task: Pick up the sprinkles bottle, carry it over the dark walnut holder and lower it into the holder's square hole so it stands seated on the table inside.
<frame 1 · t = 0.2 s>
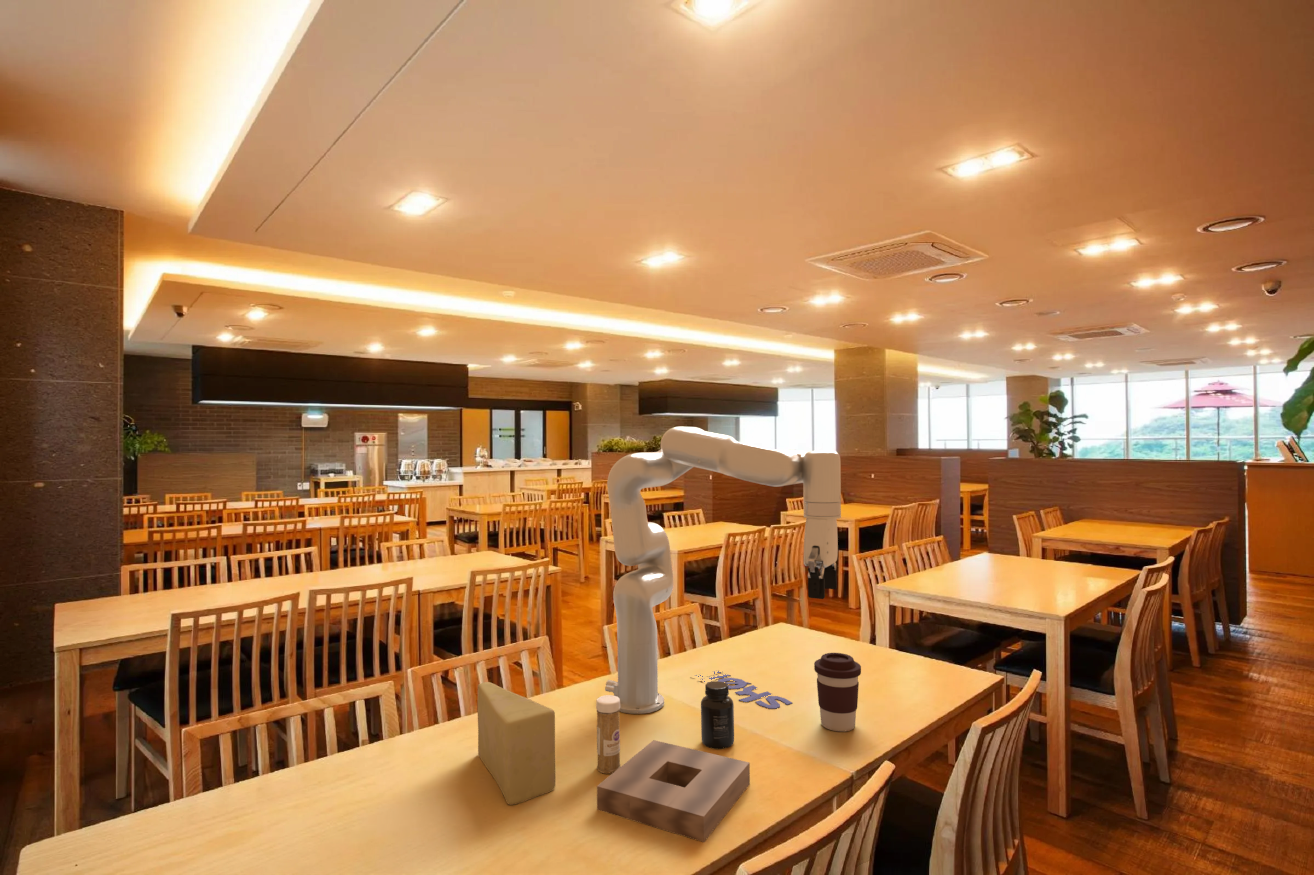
hand: (822, 593, 140), 31 cm above the table, tool pointing down, fingers open, 9 cm apart
sprinkles bottle: (608, 769, 129), on the table
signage: (739, 691, 170), on the table
walnut holder: (675, 796, 119), on the table
supplement bottle: (717, 743, 140), on the table
cheese: (505, 776, 127), on the table
coffee cup: (837, 726, 148), on the table
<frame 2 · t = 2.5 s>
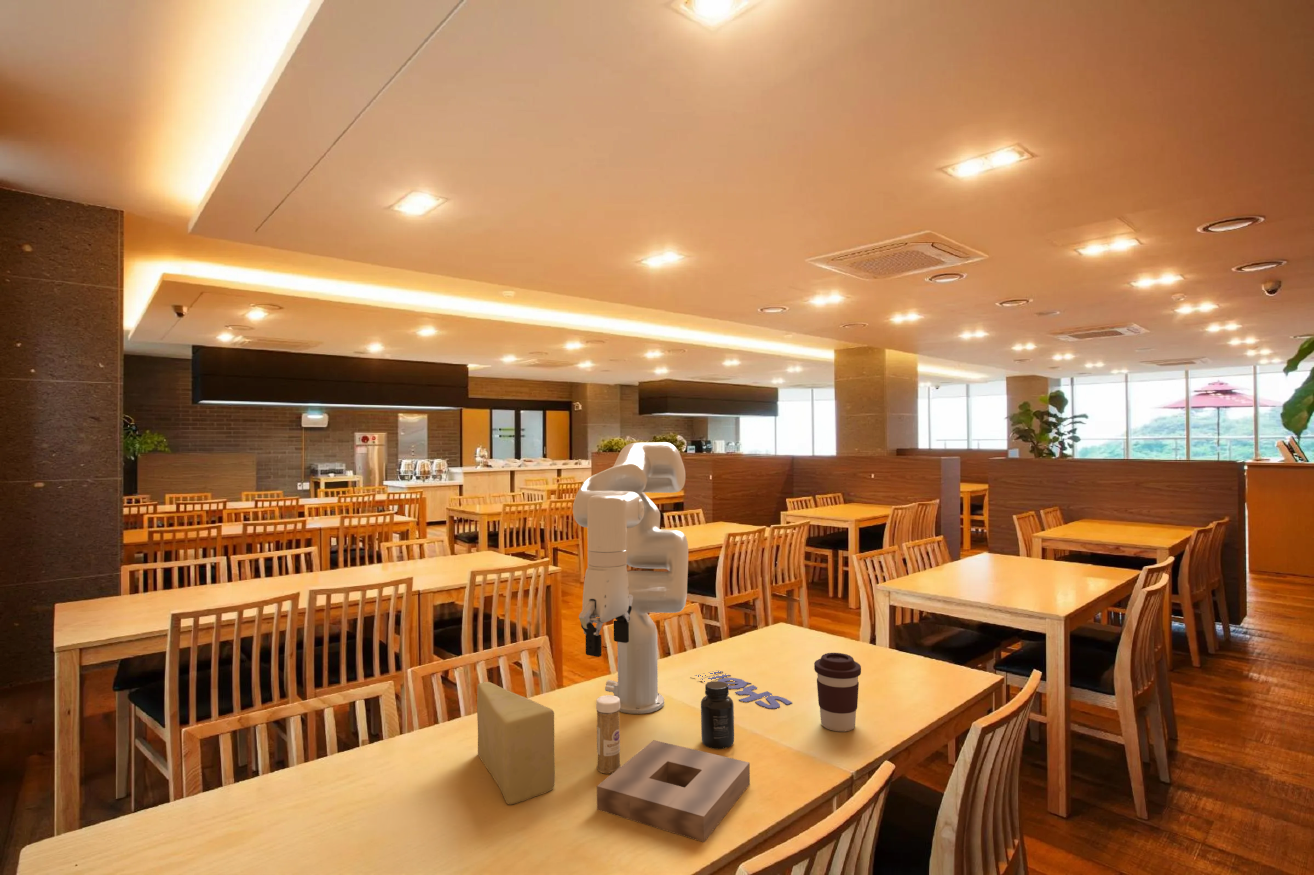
hand: (607, 648, 129), 23 cm above the table, tool pointing down, fingers open, 9 cm apart
nothing on the table moved.
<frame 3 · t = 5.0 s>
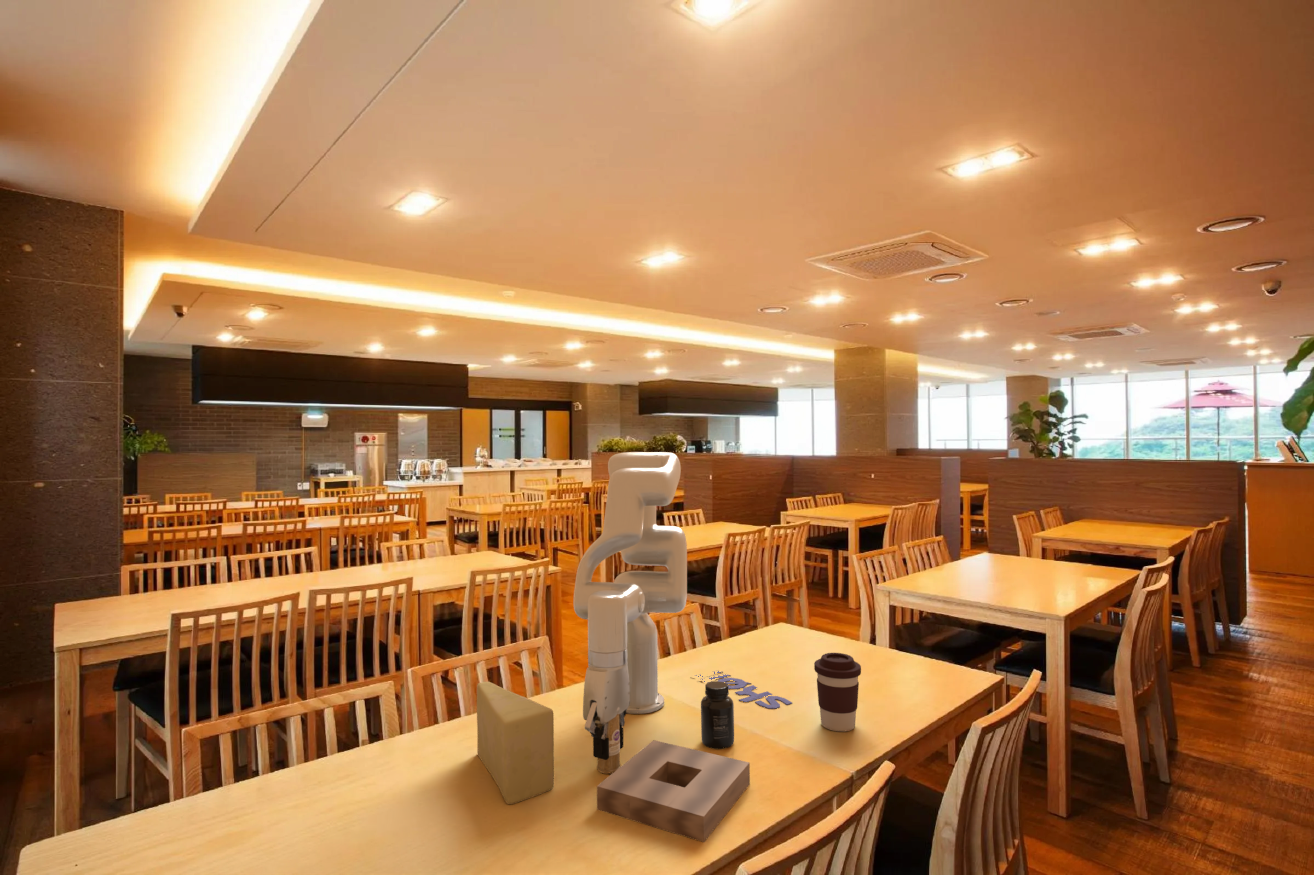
hand: (608, 751, 129), 3 cm above the table, tool pointing down, fingers closed on sprinkles bottle, 4 cm apart
sprinkles bottle: (608, 769, 129), on the table, touching gripper
everything else where it was.
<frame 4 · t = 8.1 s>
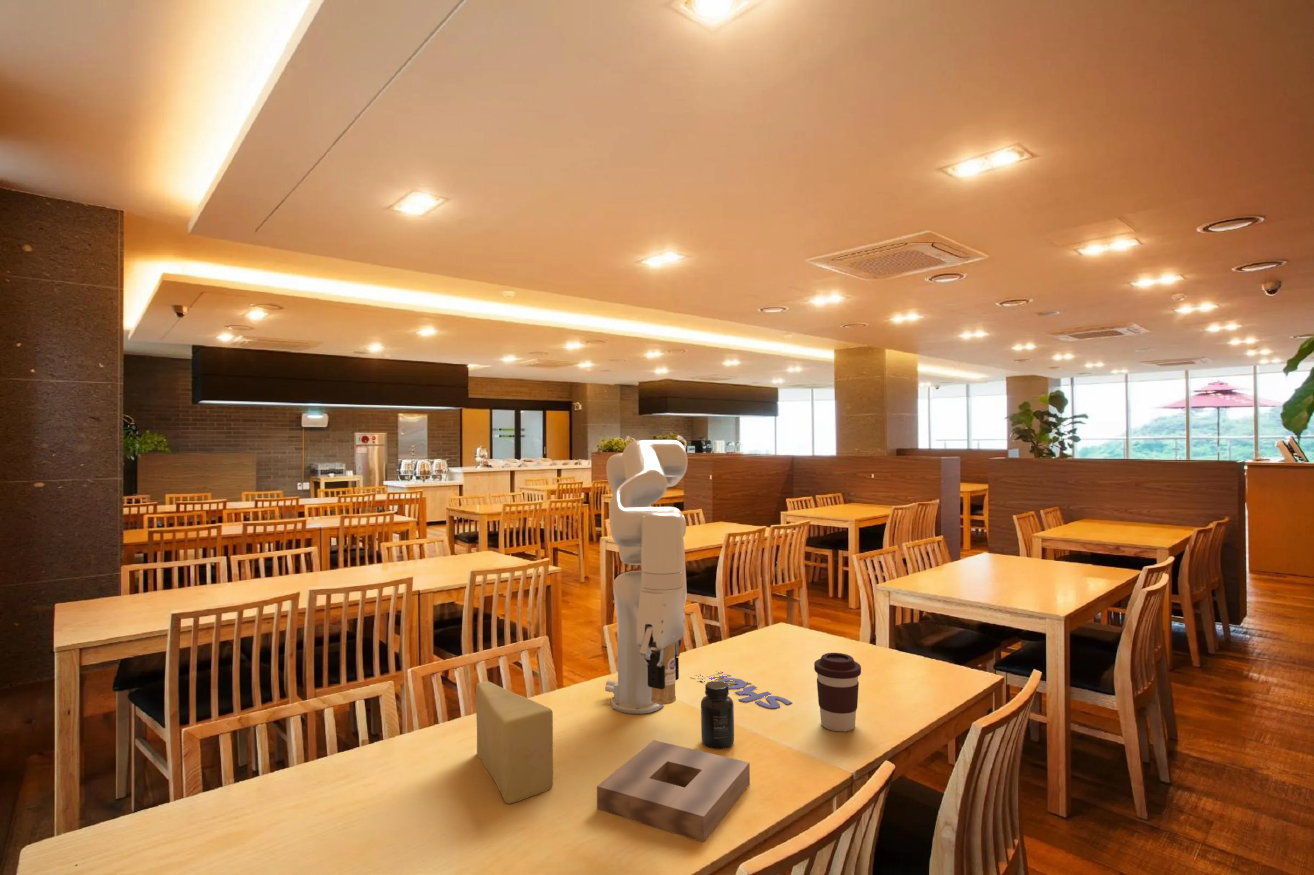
hand: (663, 682, 121), 20 cm above the table, tool pointing down, fingers closed on sprinkles bottle, 4 cm apart
sprinkles bottle: (663, 701, 121), point 16 cm above the table, touching gripper
everything else where it was.
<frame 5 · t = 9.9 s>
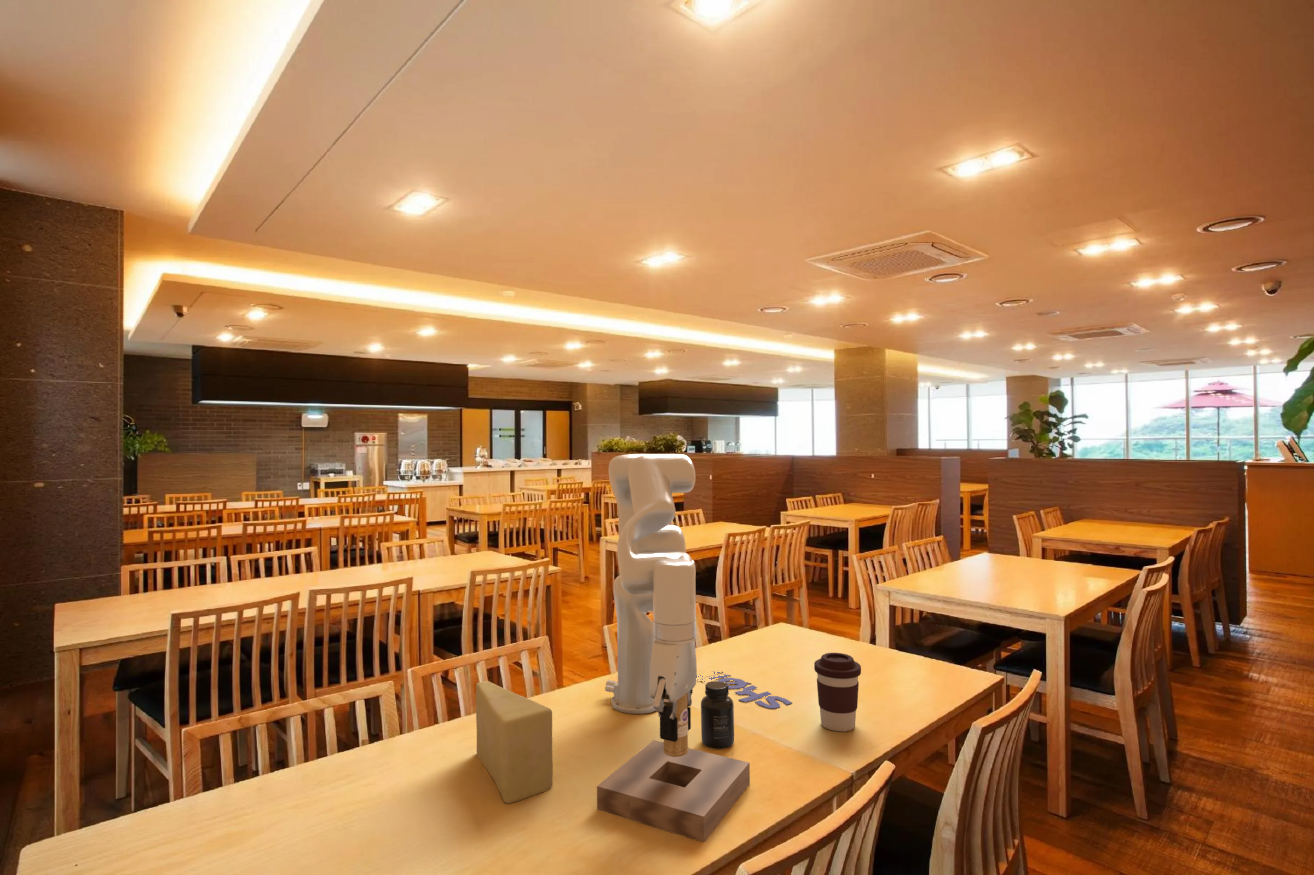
hand: (675, 733, 119), 11 cm above the table, tool pointing down, fingers closed on sprinkles bottle, 4 cm apart
sprinkles bottle: (675, 753, 119), point 8 cm above the table, touching gripper
everything else where it was.
when the fingers open (5 cm above the table, at t = 11.4 s): sprinkles bottle drops 2 cm, resting in walnut holder.
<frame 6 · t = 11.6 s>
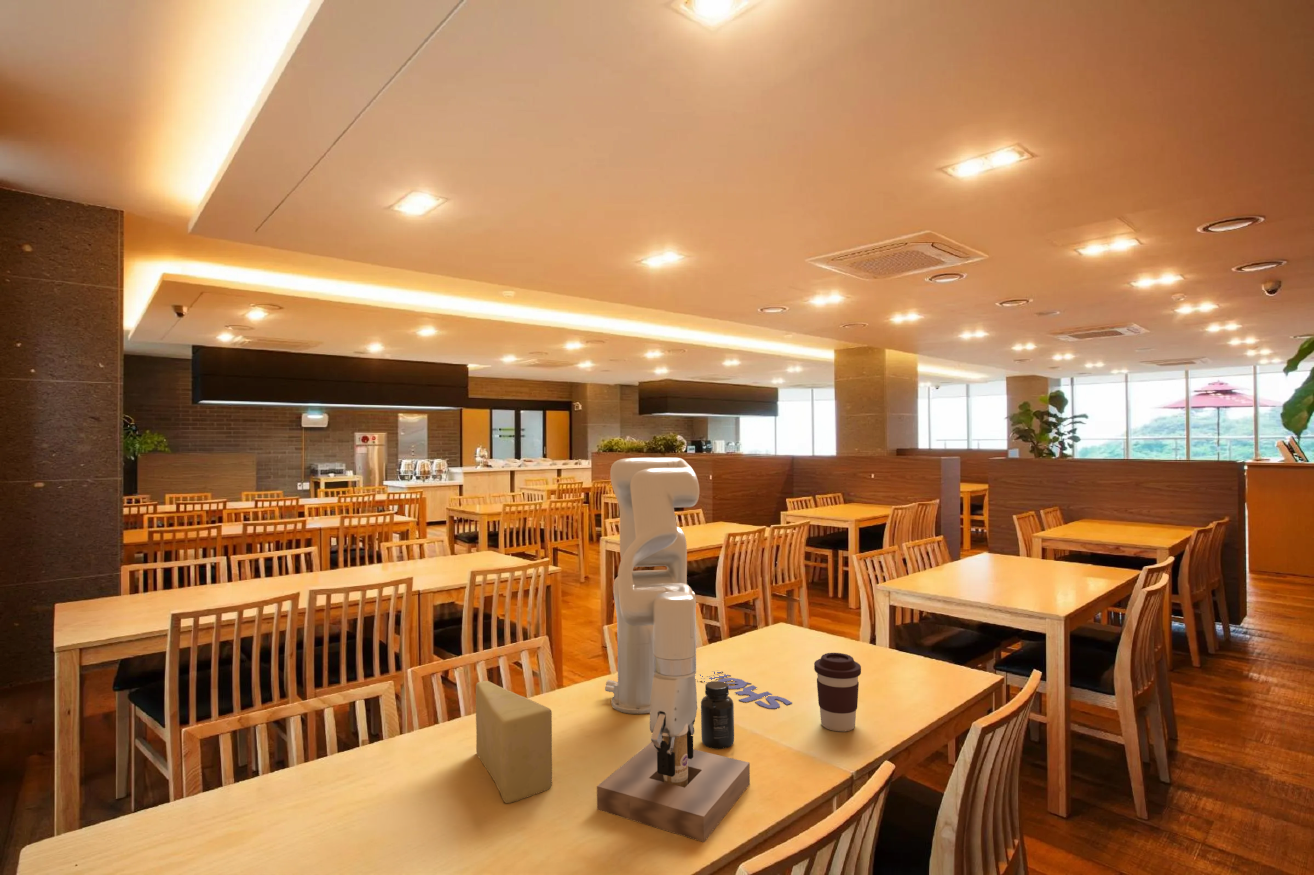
hand: (675, 764, 119), 6 cm above the table, tool pointing down, fingers open, 6 cm apart
sprinkles bottle: (675, 796, 119), resting in walnut holder
everything else where it was.
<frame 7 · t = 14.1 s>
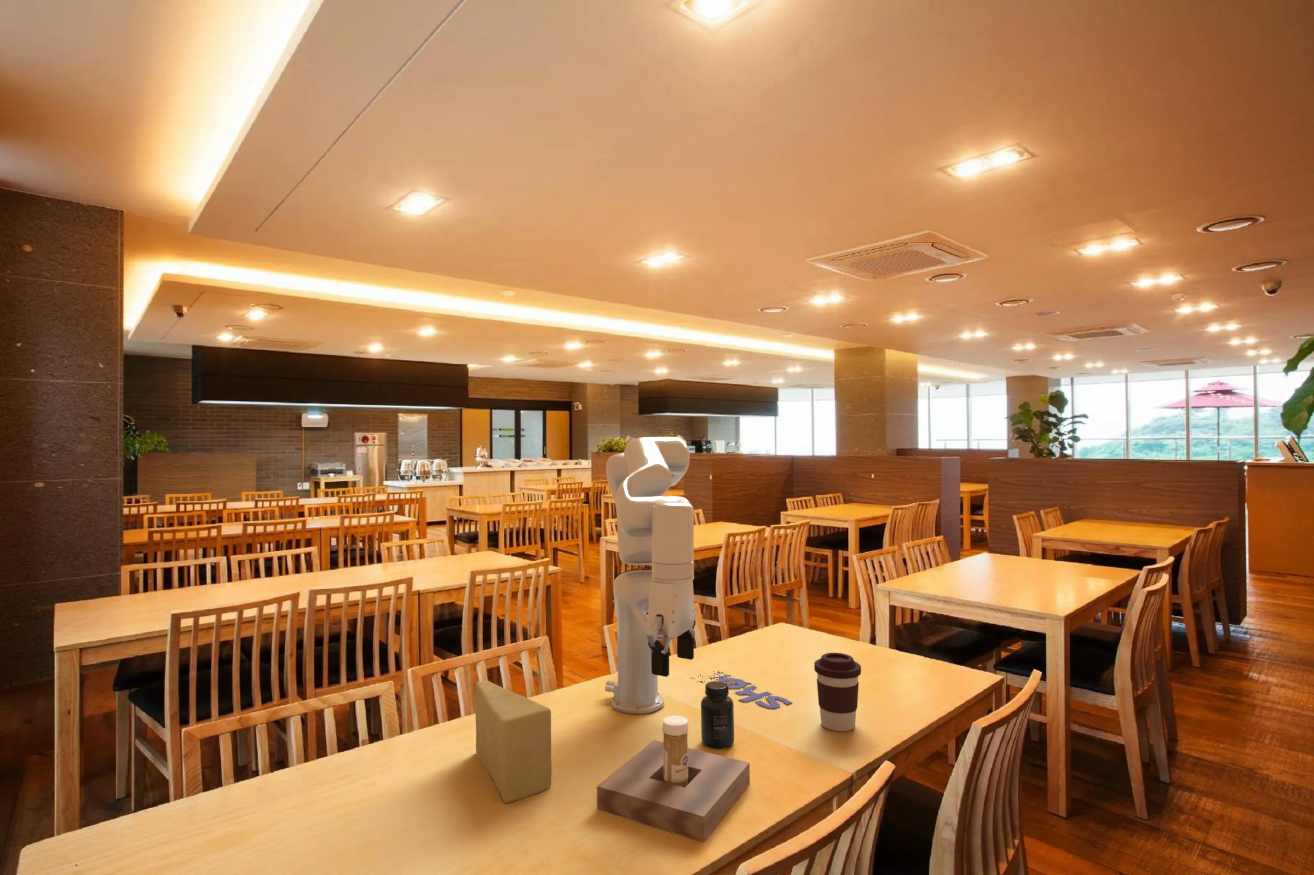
hand: (673, 666, 121), 22 cm above the table, tool pointing down, fingers open, 9 cm apart
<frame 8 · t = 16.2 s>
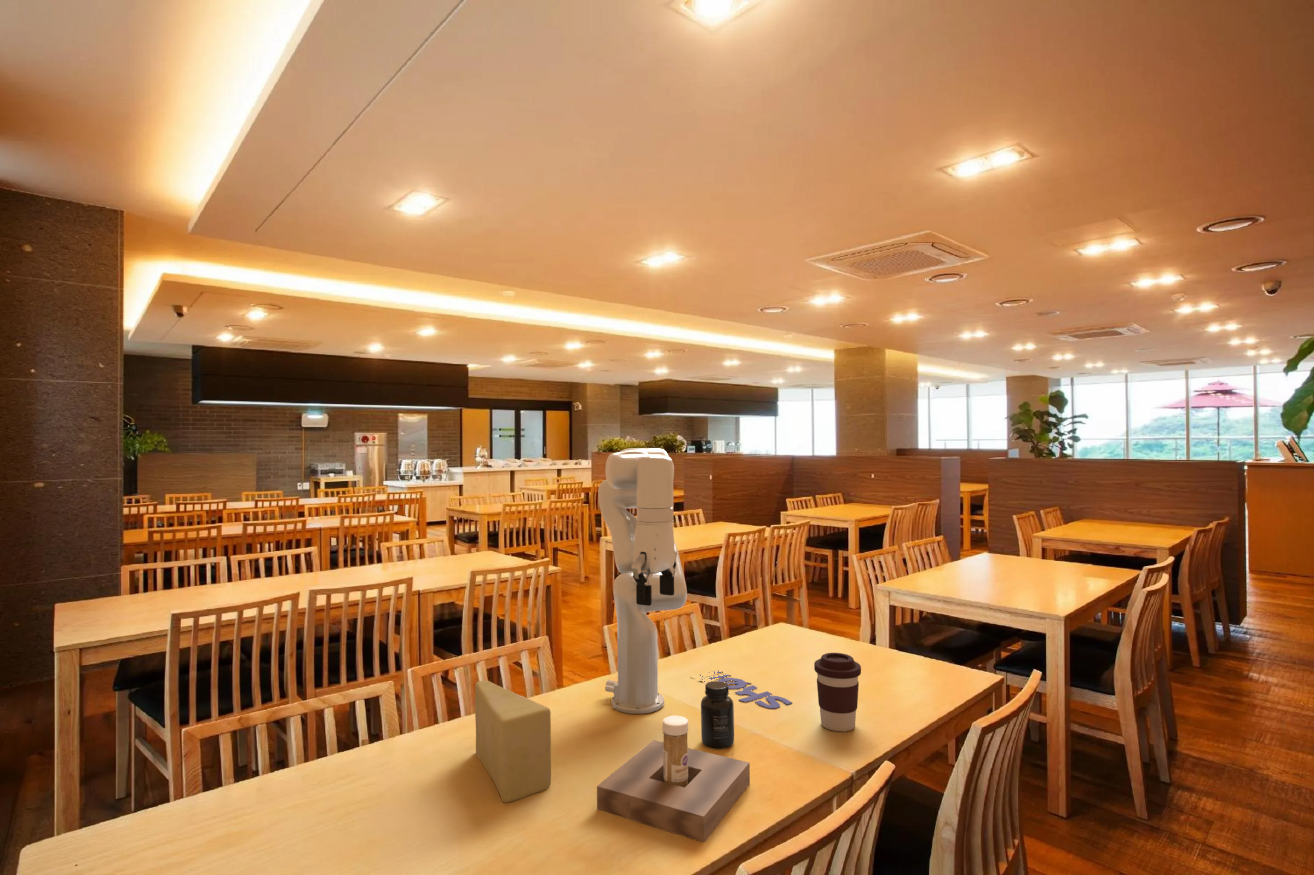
hand: (655, 599, 138), 30 cm above the table, tool pointing down, fingers open, 9 cm apart
at the end: sprinkles bottle 0.3 cm off-centre on the walnut holder, point 0.0 cm above the walnut holder's base; sprinkles bottle tilted 0°; the gripper is holding nothing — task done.
